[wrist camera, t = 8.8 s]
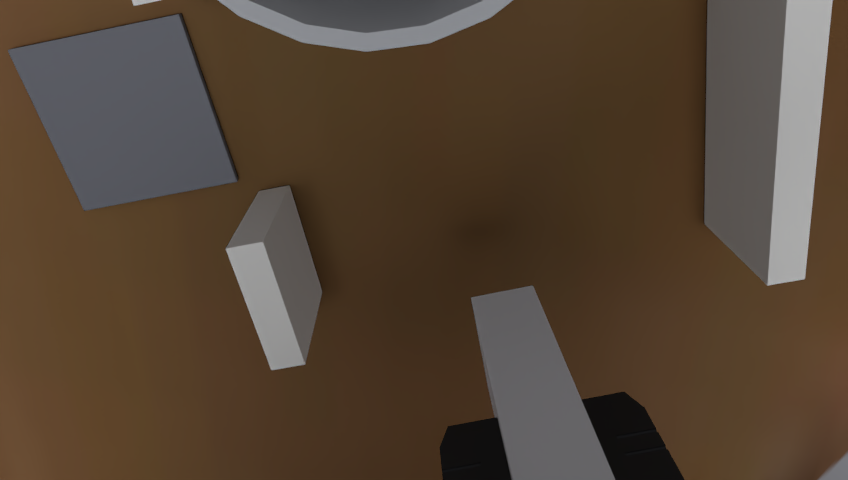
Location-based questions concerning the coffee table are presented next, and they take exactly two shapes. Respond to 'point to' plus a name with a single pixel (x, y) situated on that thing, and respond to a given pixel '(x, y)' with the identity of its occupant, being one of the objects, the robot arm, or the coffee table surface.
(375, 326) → the coffee table surface
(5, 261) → the coffee table surface
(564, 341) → the coffee table surface
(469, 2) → the cup
